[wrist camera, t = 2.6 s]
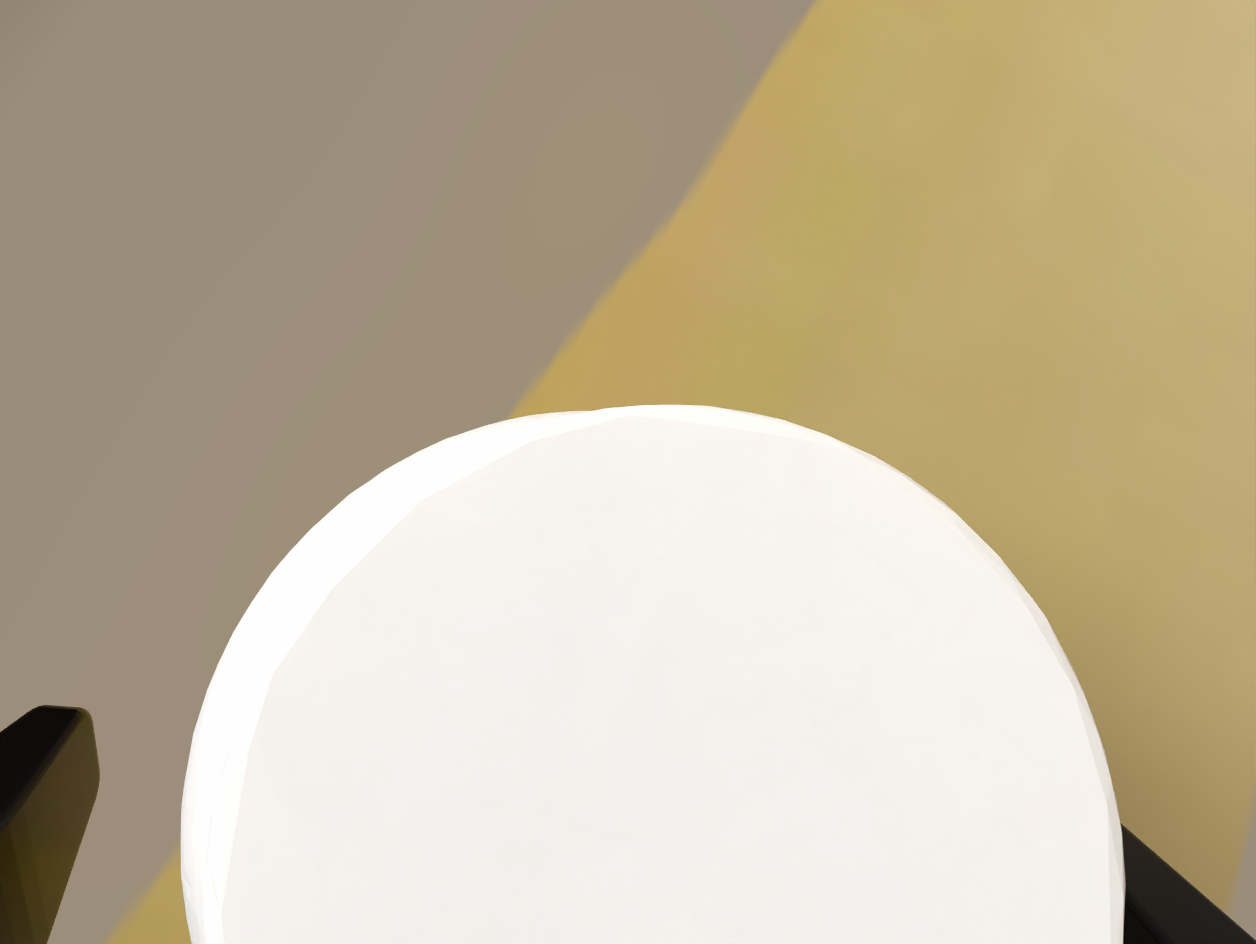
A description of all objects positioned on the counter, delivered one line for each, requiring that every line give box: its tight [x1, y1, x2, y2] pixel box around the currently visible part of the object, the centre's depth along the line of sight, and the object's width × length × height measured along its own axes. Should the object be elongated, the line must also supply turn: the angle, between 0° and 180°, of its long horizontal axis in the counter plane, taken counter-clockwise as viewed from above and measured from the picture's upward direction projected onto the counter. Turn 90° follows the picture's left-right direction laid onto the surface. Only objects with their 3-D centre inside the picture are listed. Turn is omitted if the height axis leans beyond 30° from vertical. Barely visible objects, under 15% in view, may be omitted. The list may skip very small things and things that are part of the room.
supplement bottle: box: [181, 405, 1126, 944], centre depth 11 cm, size 7×7×13 cm
